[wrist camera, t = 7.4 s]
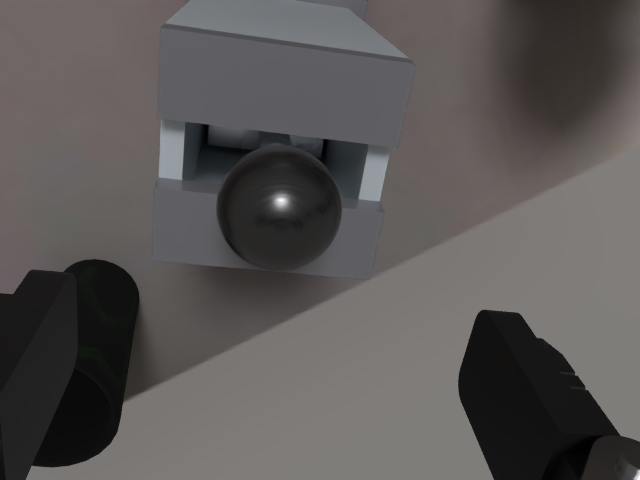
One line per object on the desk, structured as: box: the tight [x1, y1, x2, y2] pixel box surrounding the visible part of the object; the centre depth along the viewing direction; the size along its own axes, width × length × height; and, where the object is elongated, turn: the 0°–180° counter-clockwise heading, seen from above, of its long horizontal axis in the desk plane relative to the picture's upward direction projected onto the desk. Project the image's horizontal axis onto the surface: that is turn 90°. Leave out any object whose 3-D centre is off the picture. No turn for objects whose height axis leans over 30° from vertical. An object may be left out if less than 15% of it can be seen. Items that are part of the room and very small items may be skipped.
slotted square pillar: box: [152, 0, 416, 280], centre depth 29 cm, size 10×10×18 cm
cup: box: [32, 259, 139, 467], centre depth 37 cm, size 8×8×12 cm
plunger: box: [208, 125, 342, 271], centre depth 24 cm, size 6×6×17 cm
